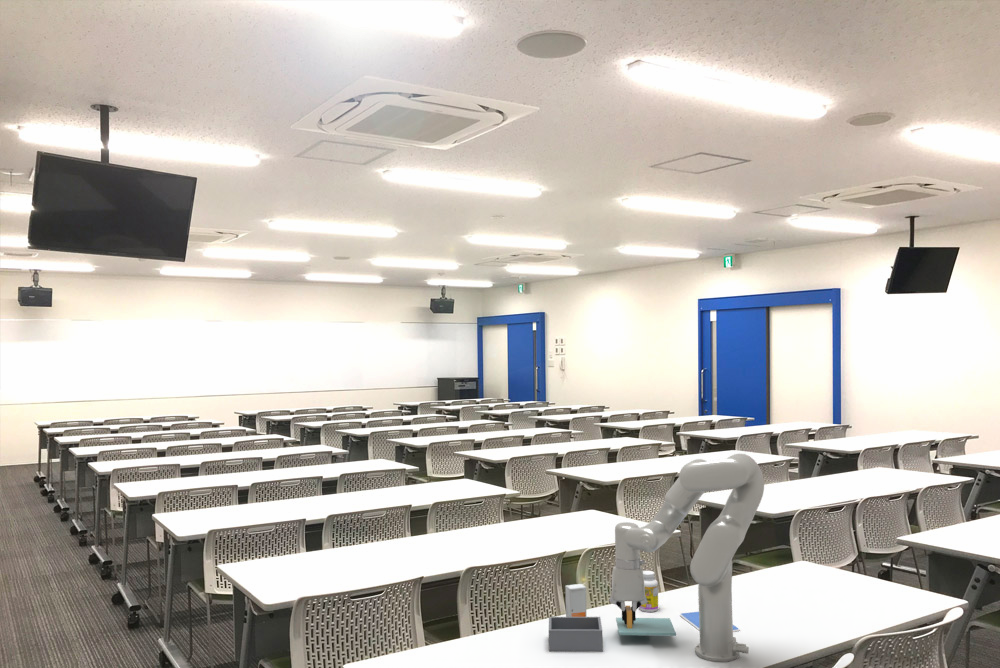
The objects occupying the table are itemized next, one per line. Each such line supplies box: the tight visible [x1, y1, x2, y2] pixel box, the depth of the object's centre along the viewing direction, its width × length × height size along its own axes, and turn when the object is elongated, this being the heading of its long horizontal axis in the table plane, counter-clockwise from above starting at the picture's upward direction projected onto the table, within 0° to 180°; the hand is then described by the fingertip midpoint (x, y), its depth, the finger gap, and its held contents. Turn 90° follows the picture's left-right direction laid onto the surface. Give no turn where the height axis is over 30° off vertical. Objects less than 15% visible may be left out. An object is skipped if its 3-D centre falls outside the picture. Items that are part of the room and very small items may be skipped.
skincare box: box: [564, 583, 587, 617], centre depth 254 cm, size 6×4×12 cm
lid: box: [615, 605, 677, 637], centre depth 237 cm, size 17×13×6 cm
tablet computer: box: [679, 611, 741, 633], centre depth 250 cm, size 19×13×1 cm, turn 12°
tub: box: [548, 616, 604, 653], centre depth 233 cm, size 16×12×7 cm
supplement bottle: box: [638, 570, 659, 613], centre depth 265 cm, size 7×7×13 cm
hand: (628, 622), depth 237 cm, fingers closed on lid, 1 cm apart
